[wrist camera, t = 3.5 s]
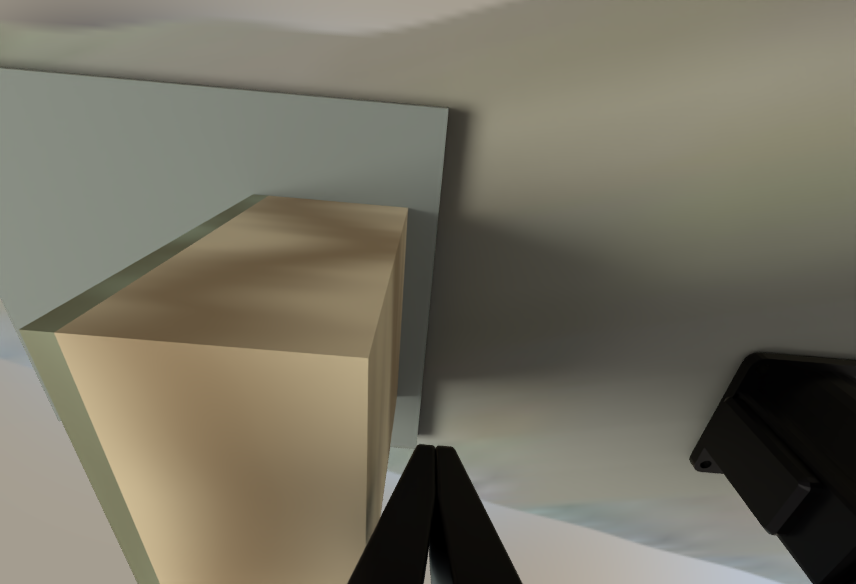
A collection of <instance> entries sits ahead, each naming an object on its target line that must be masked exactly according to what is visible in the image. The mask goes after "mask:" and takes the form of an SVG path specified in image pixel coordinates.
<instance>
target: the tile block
mask: <svg viewBox="0 0 856 584" xmlns="http://www.w3.org/2000/svg"><path fill="white" fill-rule="evenodd" d="M407 218H408V208H405V207H393V206H382V205H370V204H359V203H347V202H336V201H324V200H313V199H301V198H290V197H278V196H267V195H255V194H253V195H251V196H249V197H248V198H246V199H244V200H242V201H241V202H239V203H237V204H235V205H234V206H232V207H230V208H228V209H227V210H225V211H223V212H222V213H220V214H218V215H216V216H215V217H213V218H211V219H209V220H208V221H206V222H204V223H202V224H201V225H199V226H197V227H196V228H194V229H192V230H190V231H189V232H187V233H185V234H183V235H182V236H180V237H178V238H176V239H175V240H173V241H171V242H170V243H168V244H166V245H164V246H163V247H161V248H159V249H157V250H156V251H154V252H152V253H150V254H149V255H147V256H145V257H144V258H142V259H140V260H138V261H137V262H135V263H133V264H131V265H130V266H128V267H126V268H125V269H123V270H121V271H119V272H118V273H116V274H114V275H112V276H111V277H109V278H107V279H105V280H104V281H102V282H100V283H99V284H97V285H95V286H93V287H92V288H90V289H88V290H86V291H85V292H83V293H81V294H79V295H78V296H76V297H74V298H73V299H71V300H69V301H67V302H66V303H64V304H62V305H60V306H59V307H57V308H55V309H53V310H52V311H50V312H48V313H47V314H45V315H43V316H41V317H40V318H38V319H36V320H34V321H33V322H31V323H29V324H28V325H26V326H24V327H22V328H21V329H19V332H20V334H21V336H22V338H23V340H24V342H25V344H26V347H27V349H28V351H29V353H30V355H31V357H32V359H33V361H34V364H35V366H36V368H37V370H38V372H39V374H40V376H41V379H42V381H43V383H44V385H45V387H46V389H47V391H48V393H49V396H50V398H51V400H52V402H53V404H54V406H55V408H56V410H57V413H58V415H59V417H60V419H61V421H62V423H63V425H64V427H65V430H66V432H67V434H68V436H69V438H70V440H71V442H72V445H73V447H74V449H75V451H76V453H77V455H78V457H79V459H80V462H81V464H82V466H83V468H84V470H85V472H86V474H87V476H88V478H89V481H90V483H91V485H92V487H93V489H94V491H95V494H96V496H97V498H98V500H99V502H100V504H101V506H102V508H103V511H104V513H105V515H106V517H107V519H108V521H109V523H110V525H111V528H112V530H113V532H114V534H115V536H116V538H117V540H118V543H119V545H120V547H121V549H122V551H123V553H124V555H125V558H126V559H127V562H128V564H129V566H130V568H131V570H132V572H133V575H134V577H135V579H136V581H137V583H138V584H347V583H348V581H349V579H350V577H351V575H352V573H353V571H354V569H355V567H356V565H357V563H358V561H359V559H360V557H361V555H362V553H363V551H364V549H365V547H366V545H367V543H368V541H369V539H370V537H371V535H372V533H373V531H374V529H375V527H376V525H377V523H378V521H379V519H380V516H381V508H382V501H383V494H384V486H385V479H386V472H387V465H388V458H389V451H390V444H391V436H392V429H393V422H394V415H395V408H396V400H397V389H398V372H399V354H400V337H401V320H402V303H403V286H404V269H405V252H406V235H407Z"/></svg>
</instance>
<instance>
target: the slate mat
mask: <svg viewBox="0 0 856 584" xmlns="http://www.w3.org/2000/svg"><path fill="white" fill-rule="evenodd" d="M448 110H449V109H448V107H437V106H426V105H415V104H404V103H393V102H382V101H371V100H360V99H349V98H338V97H327V96H316V95H305V94H293V93H282V92H271V91H260V90H249V89H238V88H227V87H216V86H205V85H194V84H183V83H172V82H161V81H150V80H139V79H128V78H117V77H105V76H94V75H83V74H72V73H61V72H50V71H39V70H28V69H17V68H6V67H0V298H1V301H2V303H3V305H4V307H5V309H6V311H7V313H8V315H9V317H10V320H11V322H12V324H13V326H14V328H15V330H16V332H17V334H18V336H19V339H20V341H21V343H22V345H23V347H24V349H25V351H26V353H27V355H28V358H29V360H30V362H31V364H32V366H33V368H34V370H35V372H36V374H37V377H38V379H39V381H40V383H41V385H42V387H43V389H44V391H45V393H46V395H47V398H48V400H49V402H50V404H51V406H52V408H53V410H54V412H55V414H56V416H57V419H58V420H59V421H61V419H60V417H59V415H58V413H57V410H56V408H55V406H54V404H53V402H52V400H51V398H50V396H49V393H48V391H47V389H46V387H45V385H44V383H43V381H42V379H41V376H40V374H39V372H38V370H37V368H36V366H35V364H34V361H33V359H32V357H31V355H30V353H29V351H28V349H27V347H26V344H25V342H24V340H23V338H22V336H21V334H20V332H19V329H21V328H22V327H24V326H26V325H28V324H29V323H31V322H33V321H34V320H36V319H38V318H40V317H41V316H43V315H45V314H47V313H48V312H50V311H52V310H53V309H55V308H57V307H59V306H60V305H62V304H64V303H66V302H67V301H69V300H71V299H73V298H74V297H76V296H78V295H79V294H81V293H83V292H85V291H86V290H88V289H90V288H92V287H93V286H95V285H97V284H99V283H100V282H102V281H104V280H105V279H107V278H109V277H111V276H112V275H114V274H116V273H118V272H119V271H121V270H123V269H125V268H126V267H128V266H130V265H131V264H133V263H135V262H137V261H138V260H140V259H142V258H144V257H145V256H147V255H149V254H150V253H152V252H154V251H156V250H157V249H159V248H161V247H163V246H164V245H166V244H168V243H170V242H171V241H173V240H175V239H176V238H178V237H180V236H182V235H183V234H185V233H187V232H189V231H190V230H192V229H194V228H196V227H197V226H199V225H201V224H202V223H204V222H206V221H208V220H209V219H211V218H213V217H215V216H216V215H218V214H220V213H222V212H223V211H225V210H227V209H228V208H230V207H232V206H234V205H235V204H237V203H239V202H241V201H242V200H244V199H246V198H248V197H249V196H251V195H253V194H255V195H267V196H278V197H290V198H301V199H313V200H324V201H336V202H347V203H359V204H370V205H382V206H393V207H405V208H408V218H407V235H406V252H405V269H404V286H403V303H402V320H401V337H400V354H399V372H398V389H397V400H396V408H395V415H394V422H393V429H392V436H391V444H390V447H396V448H409V449H415V448H416V446H417V435H418V425H419V414H420V404H421V393H422V383H423V372H424V362H425V351H426V341H427V330H428V320H429V309H430V299H431V288H432V278H433V267H434V257H435V246H436V236H437V225H438V215H439V204H440V194H441V183H442V173H443V162H444V152H445V141H446V131H447V120H448Z"/></svg>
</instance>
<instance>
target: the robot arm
mask: <svg viewBox="0 0 856 584" xmlns="http://www.w3.org/2000/svg"><path fill="white" fill-rule="evenodd" d="M689 460H690V462H691V464H692V465H693V467H694V468H695V470H697V471H699V472H708V473H721V474H724V475H725V476H726V477H727V479H728V480H729V482H730V483H731V484H732V486H733V487H734V488H735V490H736V491H737V492H738V494H739V495H740V497H741V498H742V499H743V501H744V502H745V503H746V505H747V506H748V507H749V509H750V510H751V512H752V513H753V514H754V516H755V517H756V518H757V520H758V521H759V523H760V524H761V525H762V527H763V528H764V529H765V531H767V532H768V533H769V534H771V535H777V537H778V538H779V539H780V541H781V542H782V543H783V545H784V546H785V547H786V549H787V550H788V551H789V553H790V554H791V555H792V557H793V558H794V559H795V561H796V562H797V563H798V565H799V566H800V567H801V569H802V570H803V571H804V573H805V574H806V575H807V577H808V578H809V579H810V581H811V582H812V583H813V584H856V360H845V359H833V358H821V357H809V356H797V355H785V354H773V353H754V354H751V355H749V356H748V357H746V358H745V359H744V361H743V362H742V364H741V366H740V367H739V369H738V371H737V373H736V375H735V376H734V378H733V380H732V382H731V384H730V385H729V387H728V389H727V391H726V393H725V394H724V396H723V398H722V400H721V402H720V403H719V405H718V407H717V409H716V411H715V412H714V414H713V416H712V418H711V420H710V421H709V423H708V425H707V427H706V429H705V430H704V432H703V434H702V436H701V438H700V439H699V441H698V443H697V445H696V447H695V448H694V450H693V452H692V454H691V456H690V459H689ZM428 551H429V557H430V575H431V584H522V582H521V580H520V578H519V576H518V574H517V572H516V570H515V568H514V566H513V564H512V562H511V560H510V558H509V556H508V554H507V552H506V550H505V548H504V546H503V544H502V542H501V540H500V538H499V536H498V534H497V532H496V530H495V528H494V526H493V524H492V522H491V520H490V518H489V516H488V514H487V512H486V510H485V508H484V506H483V504H482V502H481V500H480V498H479V496H478V494H477V492H476V490H475V488H474V486H473V484H472V482H471V480H470V478H469V476H468V474H467V472H466V470H465V468H464V466H463V464H462V462H461V460H460V458H459V456H458V454H457V452H456V450H455V449H454V448H453V447H451V446H437V447H436V448H435V447H434V446H433V445H425V444H419V445H417V446H416V448H415V450H414V452H413V454H412V456H411V458H410V460H409V462H408V464H407V466H406V468H405V470H404V472H403V474H402V476H401V478H400V480H399V482H398V483H397V485H396V487H395V489H394V491H393V493H392V496H391V497H390V499H389V502H388V503H387V506H386V507H385V509H384V511H383V513H382V515H381V517H380V519H379V521H378V523H377V525H376V527H375V529H374V531H373V533H372V535H371V537H370V539H369V541H368V543H367V545H366V547H365V549H364V551H363V553H362V555H361V557H360V559H359V561H358V563H357V565H356V567H355V569H354V571H353V573H352V575H351V577H350V579H349V581H348V583H347V584H423V583H424V578H425V571H426V564H427V557H428Z"/></svg>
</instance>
